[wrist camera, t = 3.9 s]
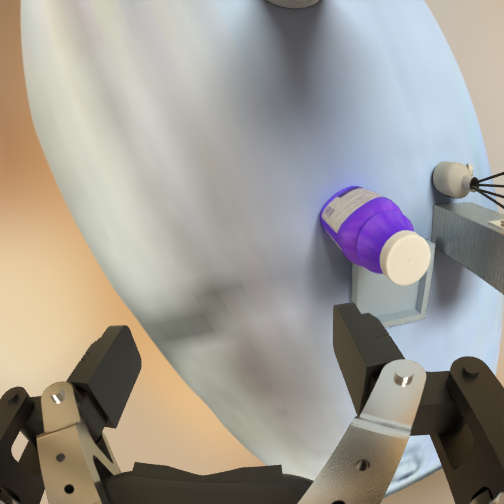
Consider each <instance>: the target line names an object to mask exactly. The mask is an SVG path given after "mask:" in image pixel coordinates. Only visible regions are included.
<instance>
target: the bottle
mask: <svg viewBox="0 0 504 504" xmlns="http://www.w3.org/2000/svg"><path fill="white" fill-rule="evenodd" d="M320 220H321V223H322V225H323V228H324V230H325V231H326V232H327V234H328V235H330V237H331V238H332V239H333V240H334V242H335V243H336V244H337V245H338V247H339V248H340V249H341V250H342V252H343V253H344V255H345V256H346V258H347V259H348V260H350V261H351V262H353V263H354V264H356V265H358V266H362V267H365V268H366V269H368V270H369V271H371V272H374V273H377V274H384V275H385V276H386V277H387V278H389V279H390V280H391V281H392V282H393V283H395V284H397V285H401V286H405V285H410V284H413V283H415V282H416V281H418V280H419V279H420V278H421V277H422V276H423V275H424V273H425V272H426V270H427V268H428V266H429V263H430V258H431V253H430V248H429V245H428V243H427V242H426V241H425V239H424V238H422V237H421V236H419V235H418V234H417V233H415V232H414V229H413V225H412V224H411V222H410V220H409V219H408V218H407V217H406V216H404V215H403V214H402V212H401V210H400V209H399V207H398V206H397V205H396V204H395V203H393V202H392V201H391V200H389V199H388V198H385V197H383V196H381V195H378V194H376V193H373V192H371V191H368V190H366V189H364V188H362V187H359V186H351V187H347V188H345V189H343V190H341V191H339V192H338V193H336V194H335V195H334V196H332V197H331V198H330V199H329V200H328V201H327V202H326V203H325V205H324V206H323V208H322V210H321V213H320Z"/></svg>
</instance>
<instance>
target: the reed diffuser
mask: <svg viewBox="0 0 504 504" xmlns="http://www.w3.org/2000/svg"><path fill="white" fill-rule="evenodd" d="M472 175H473V166H472V165H471V164H467V165H466V166H465V165H463V164H461V163H456V162H441V163H439V164H438V165H437V166H436V167H435V169H434V173H433V182H434V185H435V187H436V189H437V190H438V191H439V192H441V193H443V194H445V195H446V196H448V197H451V198H463V197H465V196H466V195H467V194H468V193H469V192H470V191H471V192H476V191H477V192H479V193H480V194H482V195H484V196H485V197H487V198H488V199H490V200H491V201H493V202H494V203H496V204H497V205H499V206H500V207H502V208H503V209H504V206H503V205H502V204H500V203H499V202H497V201H496V200H494V199H493V198H491V197H489V196H488V195H486V194H485V193H488V194H491V195H494V196H498V197H501V198H504V196H503V195H499V194H496V193H493V192H489V191H485V190H482V189H479V186H488V187H504V185H492V184H479V183H480V182H483V181H486V180H489V179H492V178H495V177H498V176H501V175H504V172H502V173H499V174H496V175H493V176H490V177H487V178H484V179H481V180H478V179H477V178H476V177H472ZM483 192H484V193H483Z"/></svg>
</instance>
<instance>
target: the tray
mask: <svg viewBox="0 0 504 504" xmlns="http://www.w3.org/2000/svg"><path fill="white" fill-rule="evenodd" d="M425 241H426V242H427V243H428V245H429V248H430V253H431V258H430V263H429V266H428V268H427V270H426V272H425V273H424V275H423V276H422V277H421V278H420V279H419V280H418V281H416V282H415V283H413V284H410V285H405V286H401V285H397V284H395V283H393V282H392V281H391V280H390V279H389V278H387V277H386V276H385V275H384V274H377V273H374V272H371V271H369V270H368V269H366V268H365V267H362V266H358V265H356V264H354V263H353V262H352V291H351V302H354V303H355V304H356V306H357V308H358V309H359V311H360V312H361V314H364V313H370V314H372V315H373V316H375V317H376V318H378V319H379V320H380V322H381V323H382V325H383V326H384V328H385V327H389V326H394V325H399V324H403V323H408V322H412V321H416V320H421V319H425V315H426V310H427V304H428V298H429V292H430V285H431V278H432V271H433V262H434V253H435V244H434V243H432V242H431V241H429V240H427V239H425Z"/></svg>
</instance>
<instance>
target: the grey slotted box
mask: <svg viewBox="0 0 504 504" xmlns="http://www.w3.org/2000/svg"><path fill="white" fill-rule="evenodd" d="M431 242H432V243H434V244H435V248H437V249H438V250H440V251H442V252H443V253H445V254H446V255H448V256H449V257H451V258H452V259H454V260H455V261H457V262H458V263H460V264H461V265H463V266H464V267H466V268H467V269H469V270H470V271H472V272H473V273H474V274H476V275H477V276H479V277H480V278H482V279H483V280H484V281H486V282H487V283H488V284H490V285H491V286H493V287H494V288H495V289H497V290H498V291H499V292H501V293H502V294H503V295H504V215H503V214H500V213H498V212H495V211H493V210H490V209H487V208H485V207H482V206H479V205H476V204H473V203H453V204H435V205H433V224H432V240H431Z"/></svg>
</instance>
